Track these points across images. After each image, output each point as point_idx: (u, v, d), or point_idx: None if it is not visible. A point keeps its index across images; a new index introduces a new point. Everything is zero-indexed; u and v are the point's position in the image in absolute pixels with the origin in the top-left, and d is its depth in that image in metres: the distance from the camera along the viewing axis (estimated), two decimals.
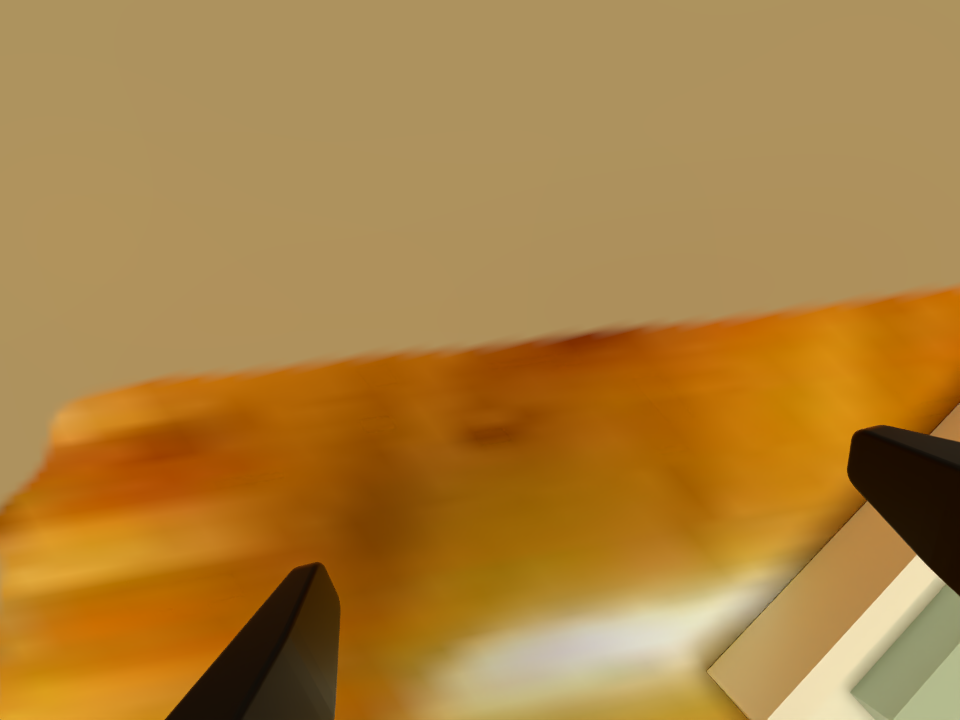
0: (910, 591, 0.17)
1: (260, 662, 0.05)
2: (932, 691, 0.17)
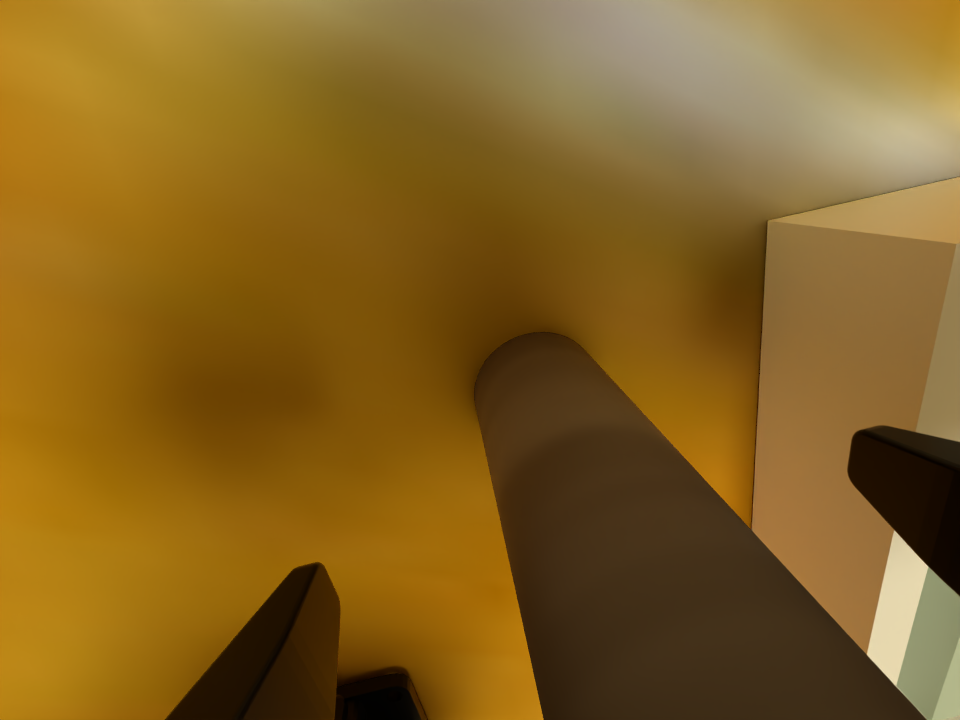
0: None
1: (260, 662, 0.05)
2: None
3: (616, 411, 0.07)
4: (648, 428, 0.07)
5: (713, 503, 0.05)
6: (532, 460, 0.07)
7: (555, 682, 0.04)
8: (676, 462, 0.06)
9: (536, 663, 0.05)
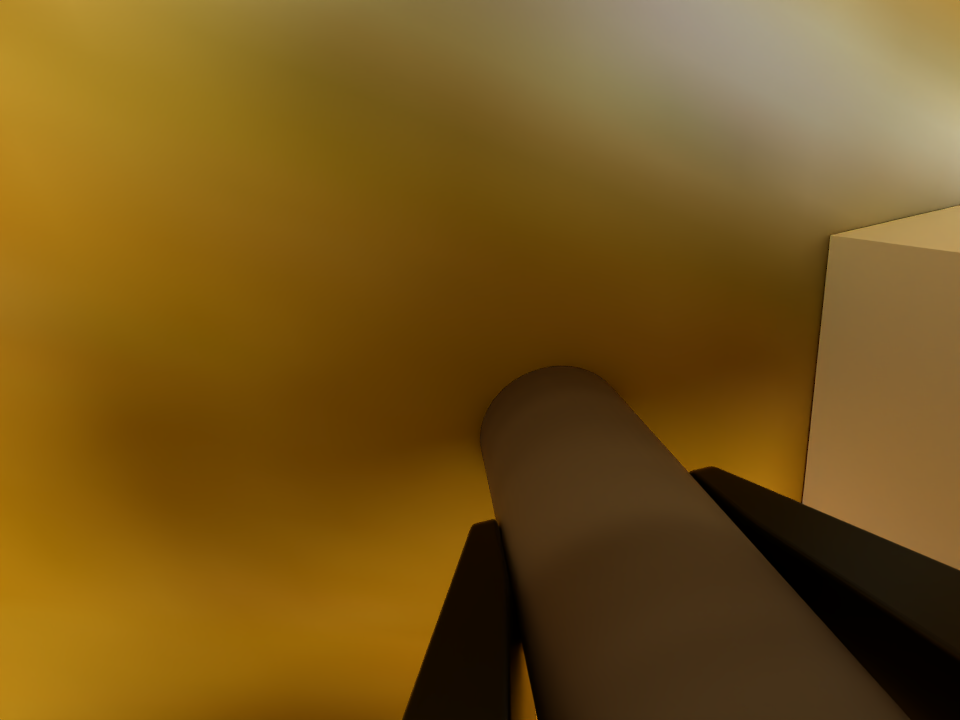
0: None
1: (496, 603, 0.05)
2: None
3: (670, 491, 0.05)
4: (716, 517, 0.05)
5: (842, 667, 0.04)
6: (563, 564, 0.05)
7: None
8: (768, 581, 0.04)
9: None
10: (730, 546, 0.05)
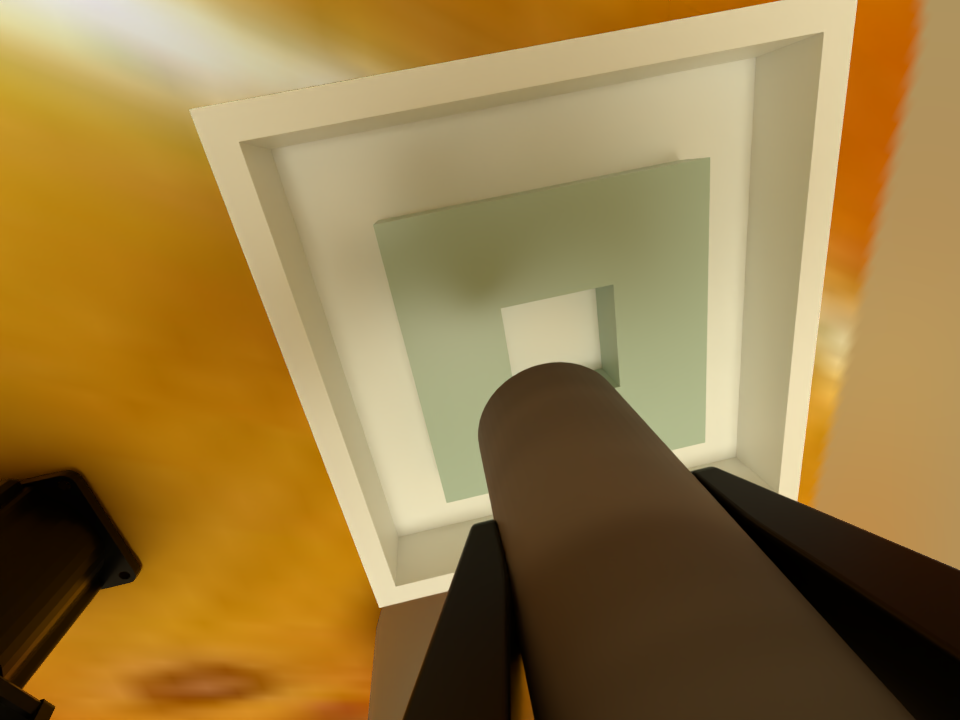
0: (467, 85, 0.13)
1: (496, 603, 0.05)
2: (434, 224, 0.15)
3: (668, 485, 0.05)
4: (714, 511, 0.05)
5: (842, 662, 0.04)
6: (559, 558, 0.05)
7: None
8: (767, 576, 0.04)
9: None
10: (728, 540, 0.05)
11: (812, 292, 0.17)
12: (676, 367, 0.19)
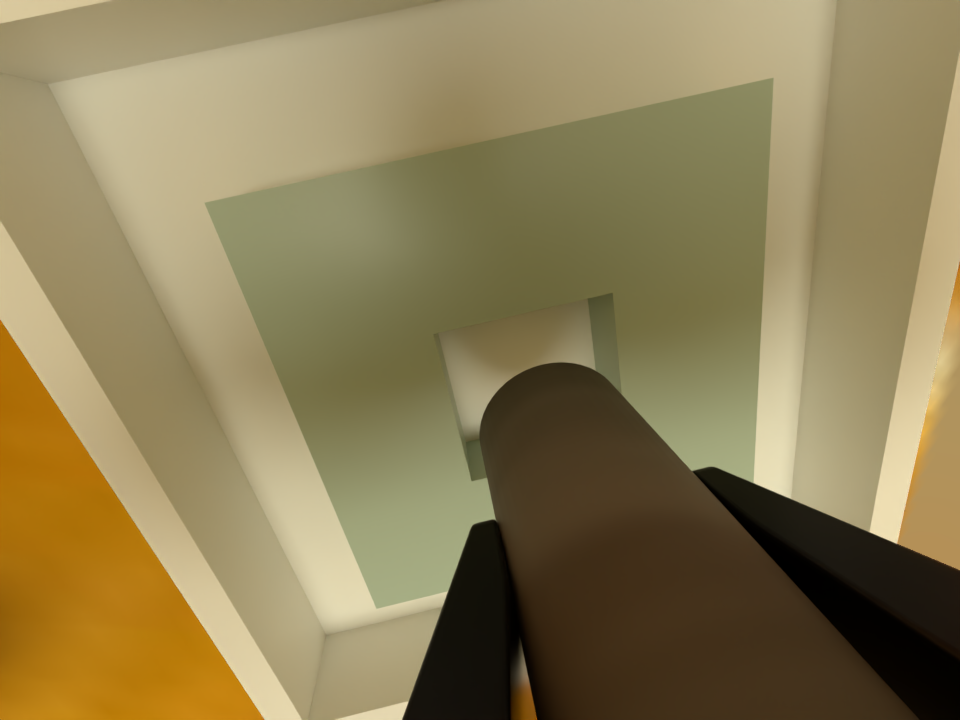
0: None
1: (496, 603, 0.05)
2: (309, 200, 0.09)
3: (671, 486, 0.05)
4: (717, 512, 0.05)
5: (847, 663, 0.04)
6: (562, 559, 0.05)
7: None
8: (771, 577, 0.04)
9: None
10: (732, 541, 0.05)
11: (935, 300, 0.11)
12: (711, 414, 0.12)
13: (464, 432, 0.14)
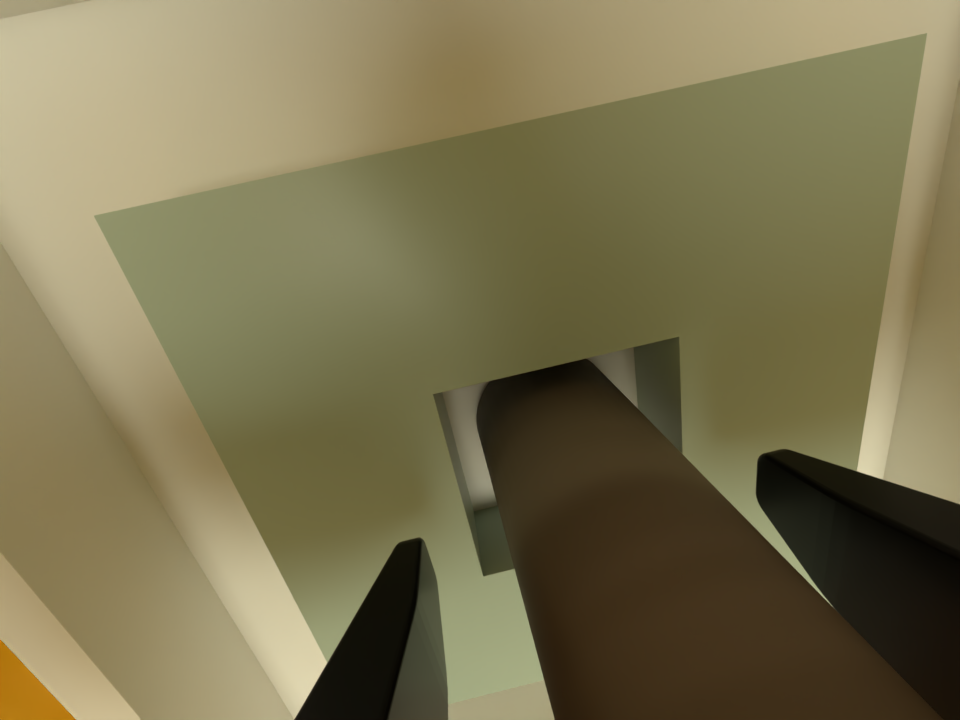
0: None
1: (397, 628, 0.05)
2: (251, 212, 0.06)
3: (653, 452, 0.06)
4: (692, 473, 0.06)
5: (795, 584, 0.04)
6: (558, 516, 0.06)
7: None
8: (736, 522, 0.05)
9: None
10: (704, 495, 0.05)
11: None
12: None
13: (472, 499, 0.11)
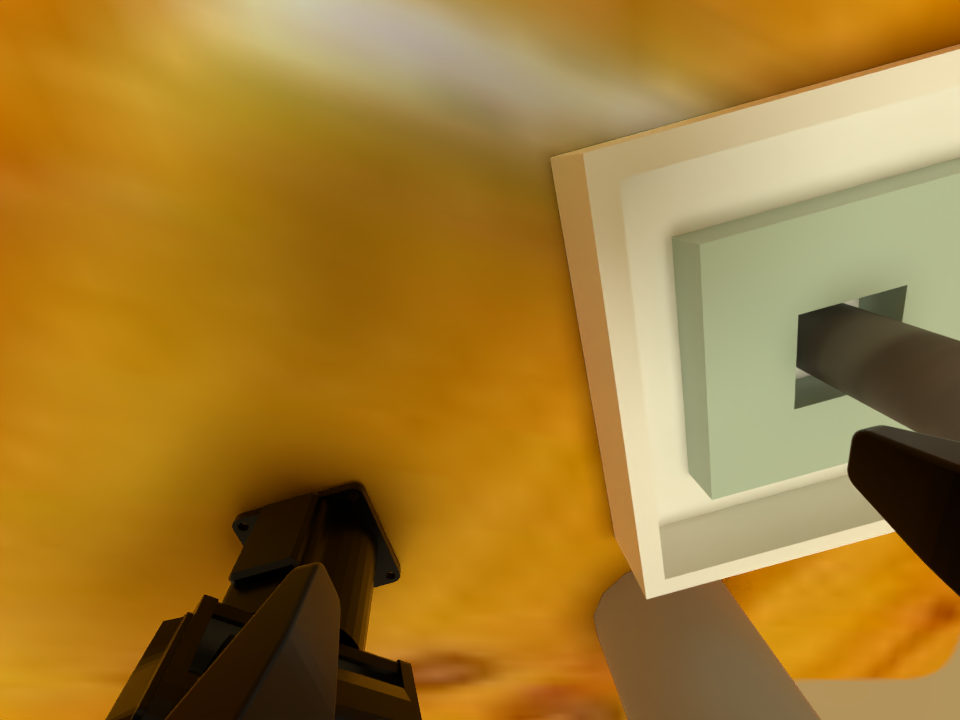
0: (833, 108, 0.14)
1: (260, 662, 0.05)
2: (754, 239, 0.16)
3: (916, 327, 0.16)
4: (935, 333, 0.16)
5: None
6: (887, 348, 0.15)
7: (958, 404, 0.13)
8: None
9: (936, 407, 0.14)
10: None
11: None
12: None
13: None
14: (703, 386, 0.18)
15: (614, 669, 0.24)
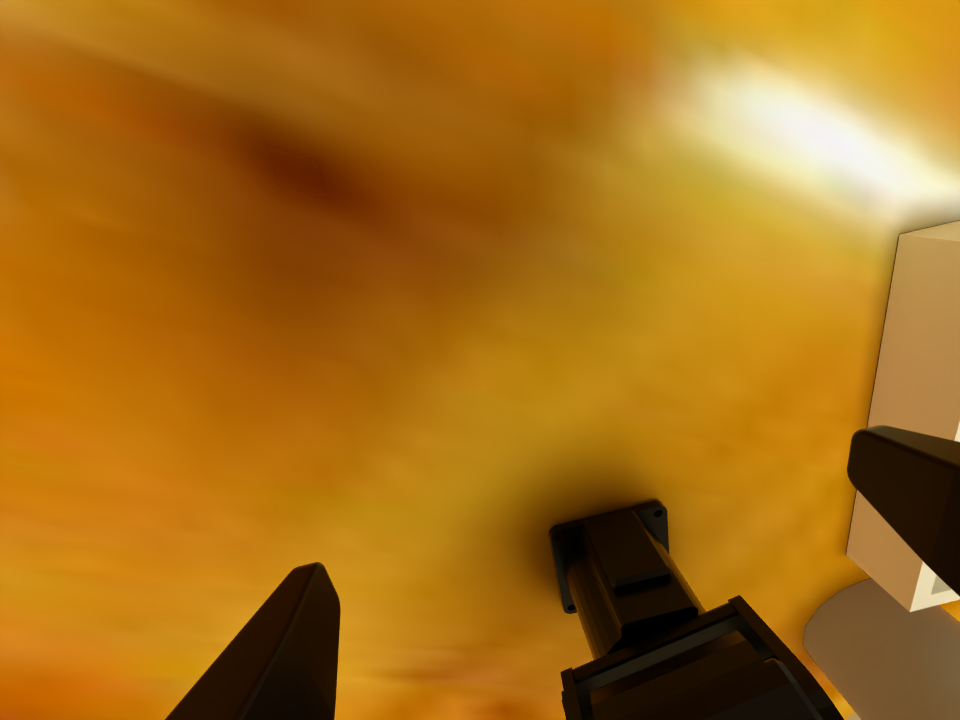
0: None
1: (260, 662, 0.05)
2: None
3: None
4: None
5: None
6: None
7: None
8: None
9: None
10: None
11: None
12: None
13: None
14: None
15: (848, 675, 0.27)
